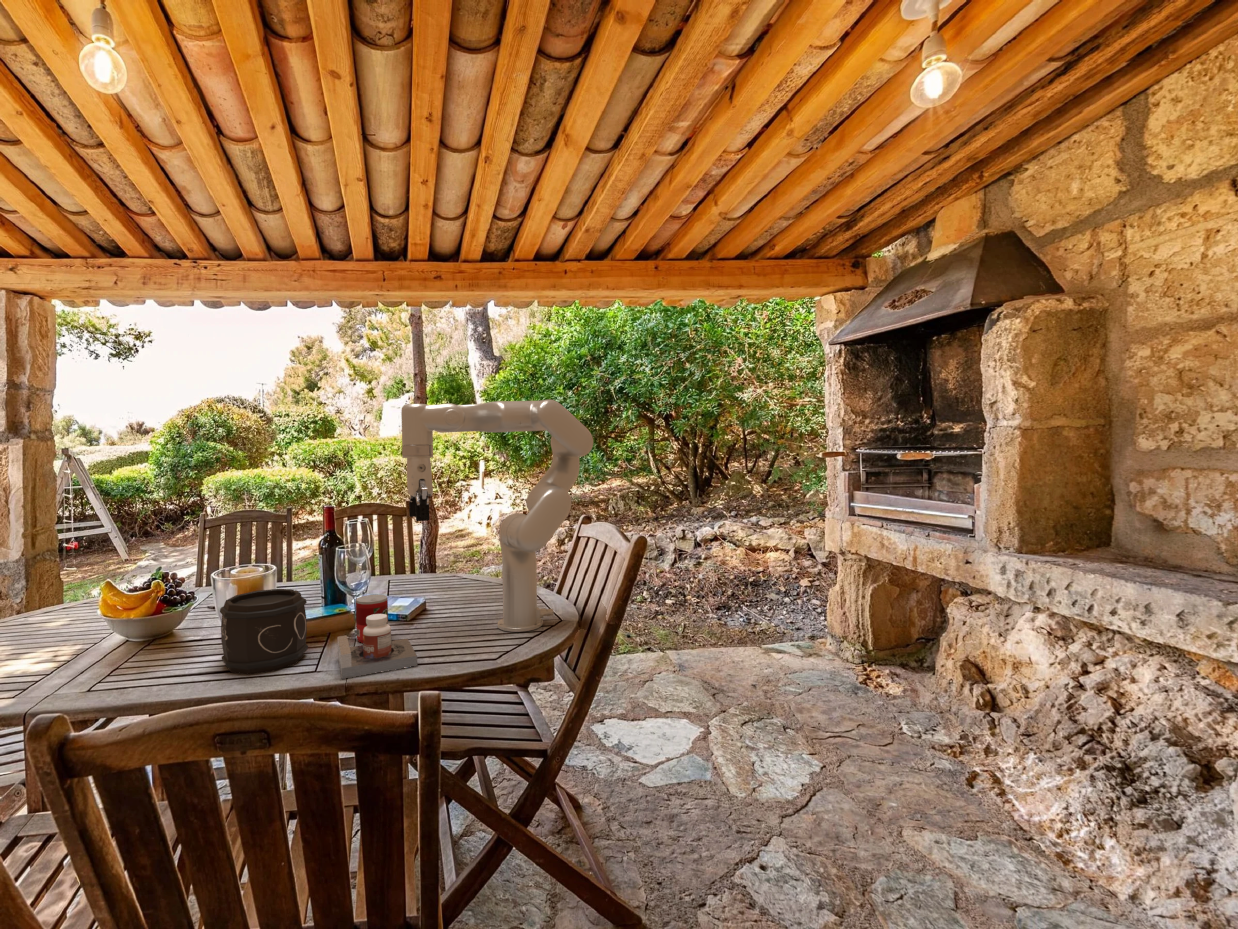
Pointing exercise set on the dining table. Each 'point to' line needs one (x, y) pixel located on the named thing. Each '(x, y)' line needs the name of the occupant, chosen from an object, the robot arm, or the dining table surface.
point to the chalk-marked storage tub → (263, 630)
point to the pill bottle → (376, 636)
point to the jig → (358, 665)
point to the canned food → (369, 610)
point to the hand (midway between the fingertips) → (419, 518)
